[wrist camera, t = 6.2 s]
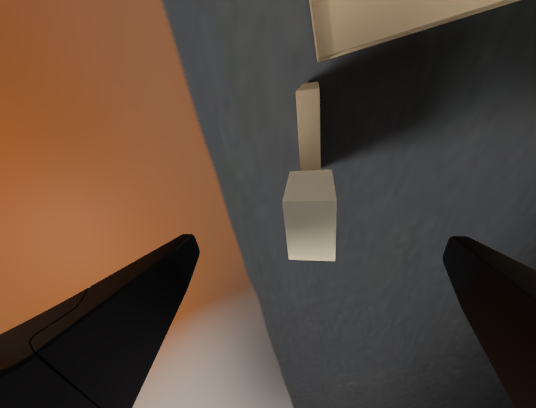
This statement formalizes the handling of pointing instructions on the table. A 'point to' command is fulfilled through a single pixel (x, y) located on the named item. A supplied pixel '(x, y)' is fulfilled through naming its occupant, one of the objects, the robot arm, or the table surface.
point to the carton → (382, 20)
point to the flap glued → (310, 188)
